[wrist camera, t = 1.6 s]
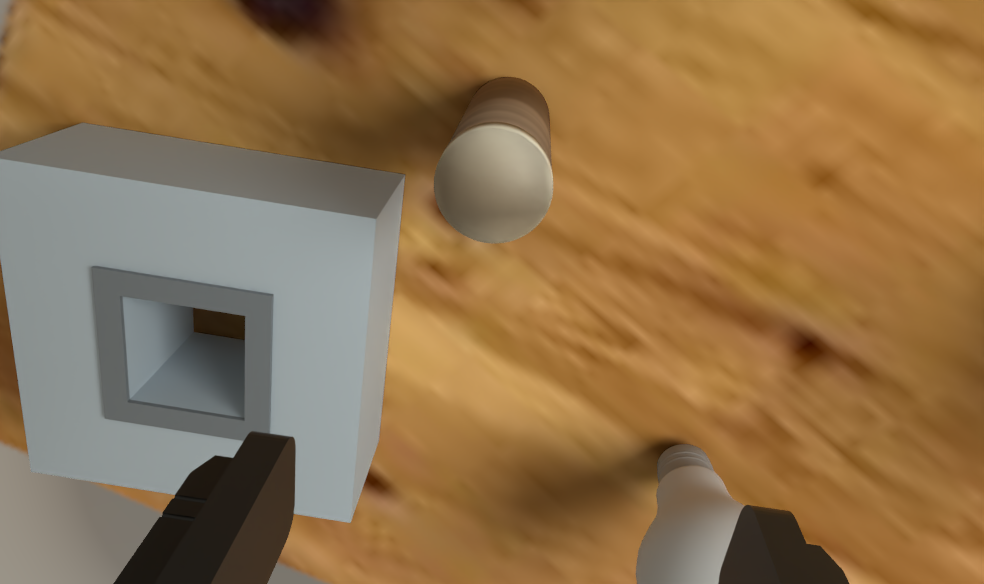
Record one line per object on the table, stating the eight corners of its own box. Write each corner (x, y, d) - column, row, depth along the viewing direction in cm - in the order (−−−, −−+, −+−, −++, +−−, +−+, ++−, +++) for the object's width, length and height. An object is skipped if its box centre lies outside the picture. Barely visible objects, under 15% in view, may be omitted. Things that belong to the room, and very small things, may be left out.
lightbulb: (632, 514, 38) (665, 710, 28) (605, 418, 36) (629, 594, 26) (752, 491, 37) (830, 686, 27) (731, 390, 35) (808, 563, 25)
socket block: (82, 122, 31) (-19, 157, 26) (405, 174, 31) (375, 220, 26) (106, 397, 37) (28, 474, 32) (378, 440, 37) (349, 526, 32)
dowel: (472, 70, 30) (441, 118, 20) (556, 83, 30) (563, 137, 20) (461, 153, 31) (427, 233, 22) (541, 166, 31) (542, 251, 22)
